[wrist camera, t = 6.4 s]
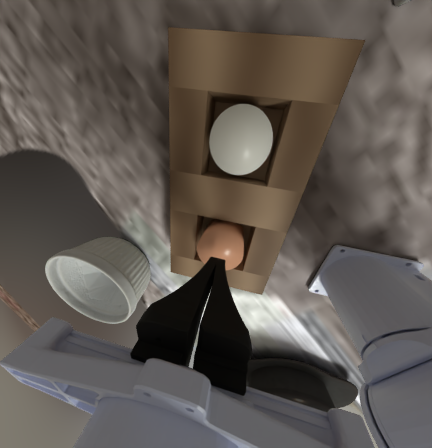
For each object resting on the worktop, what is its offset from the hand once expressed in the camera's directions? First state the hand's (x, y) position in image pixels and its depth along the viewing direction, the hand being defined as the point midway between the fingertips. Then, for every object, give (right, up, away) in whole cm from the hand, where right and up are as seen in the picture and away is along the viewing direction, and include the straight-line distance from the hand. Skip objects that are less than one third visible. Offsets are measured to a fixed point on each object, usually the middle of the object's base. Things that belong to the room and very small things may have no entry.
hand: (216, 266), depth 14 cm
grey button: (+2, +12, +1) cm, 12 cm away
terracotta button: (+1, +2, +5) cm, 6 cm away
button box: (+2, +8, +4) cm, 9 cm away
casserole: (+15, -28, +20) cm, 38 cm away
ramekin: (-17, -3, +14) cm, 22 cm away
